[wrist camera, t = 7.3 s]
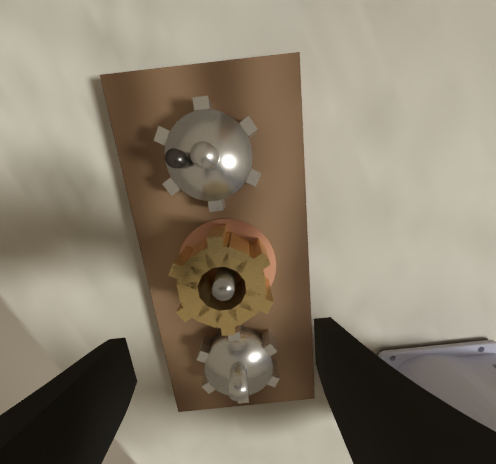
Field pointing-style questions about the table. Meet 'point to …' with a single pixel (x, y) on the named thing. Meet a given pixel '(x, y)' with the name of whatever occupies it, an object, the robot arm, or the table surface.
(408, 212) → the table surface
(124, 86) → the gear board
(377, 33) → the table surface
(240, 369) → the mounted gears
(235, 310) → the wooden gear
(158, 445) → the table surface
